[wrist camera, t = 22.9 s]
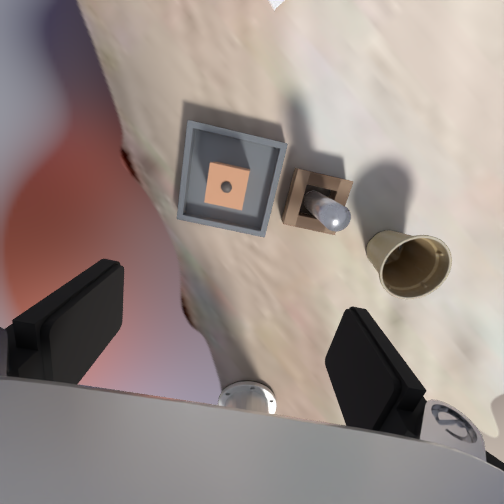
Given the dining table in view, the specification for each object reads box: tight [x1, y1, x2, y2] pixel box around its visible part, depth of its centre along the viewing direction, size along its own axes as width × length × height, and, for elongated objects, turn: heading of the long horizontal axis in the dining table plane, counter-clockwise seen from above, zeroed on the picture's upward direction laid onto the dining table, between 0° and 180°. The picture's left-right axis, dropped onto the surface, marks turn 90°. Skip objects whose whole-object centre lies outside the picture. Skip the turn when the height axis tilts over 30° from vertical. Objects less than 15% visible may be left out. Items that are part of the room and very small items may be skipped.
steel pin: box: [303, 191, 351, 231], centre depth 33 cm, size 3×3×12 cm
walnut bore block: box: [281, 168, 353, 235], centre depth 37 cm, size 8×8×3 cm
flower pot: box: [366, 230, 452, 299], centre depth 37 cm, size 9×9×9 cm
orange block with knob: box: [204, 162, 250, 210], centre depth 34 cm, size 5×5×6 cm
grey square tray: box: [177, 120, 288, 237], centre depth 37 cm, size 14×14×2 cm
